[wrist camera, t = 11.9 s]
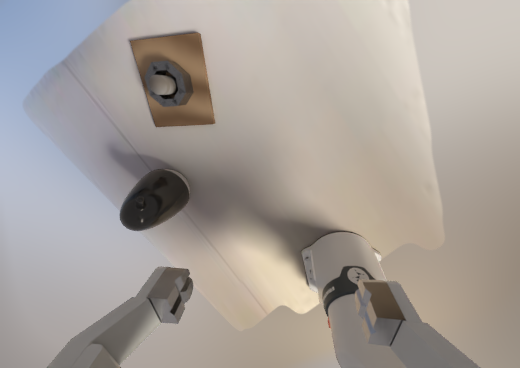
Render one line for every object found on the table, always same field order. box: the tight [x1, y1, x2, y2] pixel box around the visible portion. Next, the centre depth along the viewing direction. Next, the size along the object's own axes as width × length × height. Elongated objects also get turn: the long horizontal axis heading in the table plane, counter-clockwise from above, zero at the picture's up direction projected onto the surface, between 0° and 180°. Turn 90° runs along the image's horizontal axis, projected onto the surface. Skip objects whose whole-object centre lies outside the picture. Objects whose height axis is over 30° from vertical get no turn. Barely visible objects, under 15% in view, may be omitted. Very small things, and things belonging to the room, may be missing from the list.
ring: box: [144, 61, 194, 107], centre depth 33 cm, size 7×7×3 cm
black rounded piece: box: [120, 169, 190, 231], centre depth 38 cm, size 10×10×15 cm
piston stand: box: [130, 33, 215, 127], centre depth 32 cm, size 14×12×6 cm
